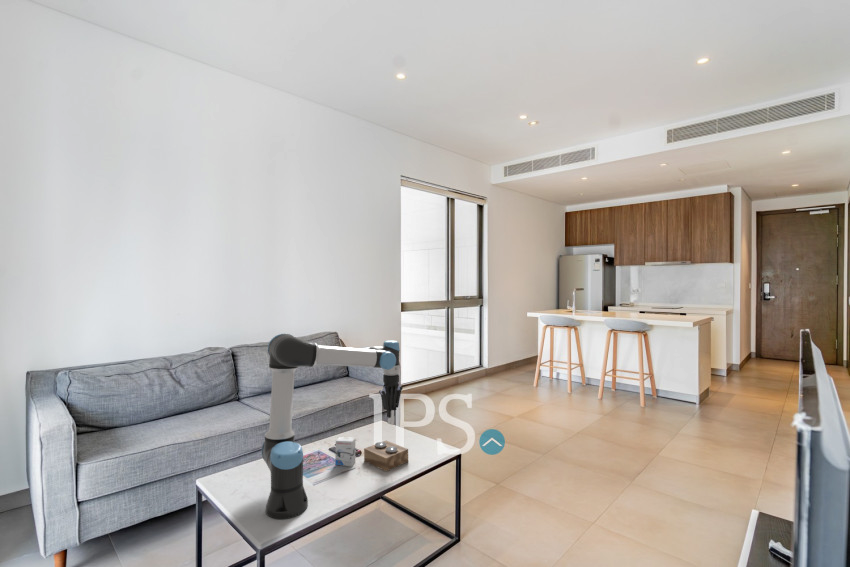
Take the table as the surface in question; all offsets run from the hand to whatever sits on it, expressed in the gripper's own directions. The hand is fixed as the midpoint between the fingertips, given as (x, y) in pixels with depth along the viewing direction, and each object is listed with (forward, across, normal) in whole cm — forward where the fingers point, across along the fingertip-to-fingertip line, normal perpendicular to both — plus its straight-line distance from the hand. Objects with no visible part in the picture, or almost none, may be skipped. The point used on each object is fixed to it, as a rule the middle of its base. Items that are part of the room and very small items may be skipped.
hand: (390, 423), depth 197 cm
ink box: (+20, -14, +16) cm, 29 cm away
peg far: (+19, +1, +8) cm, 21 cm away
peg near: (+19, +1, 0) cm, 19 cm away
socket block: (+19, +1, +4) cm, 19 cm away
